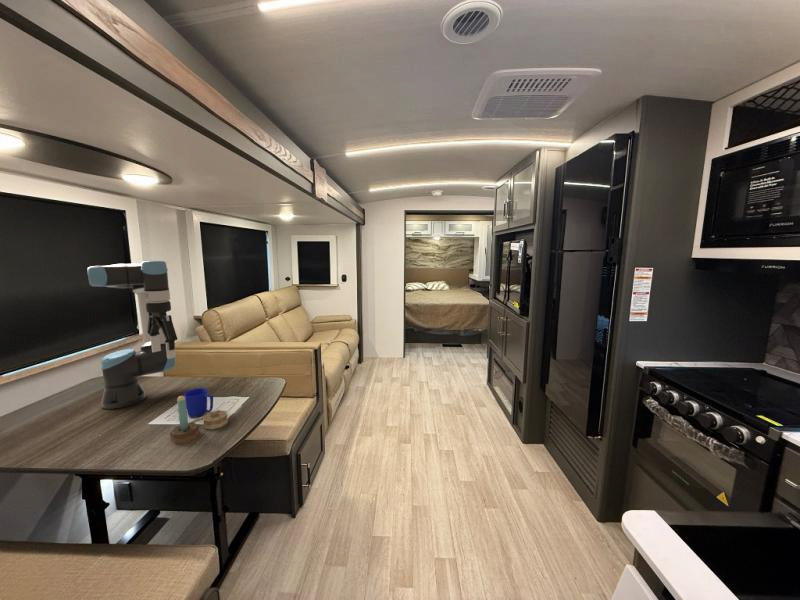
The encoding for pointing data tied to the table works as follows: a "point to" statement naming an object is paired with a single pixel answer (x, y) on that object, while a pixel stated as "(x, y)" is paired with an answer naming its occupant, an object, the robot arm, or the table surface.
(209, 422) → the maple bead
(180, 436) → the walnut bead
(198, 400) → the mug
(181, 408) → the teal rod
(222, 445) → the table surface
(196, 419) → the thin beige rod
